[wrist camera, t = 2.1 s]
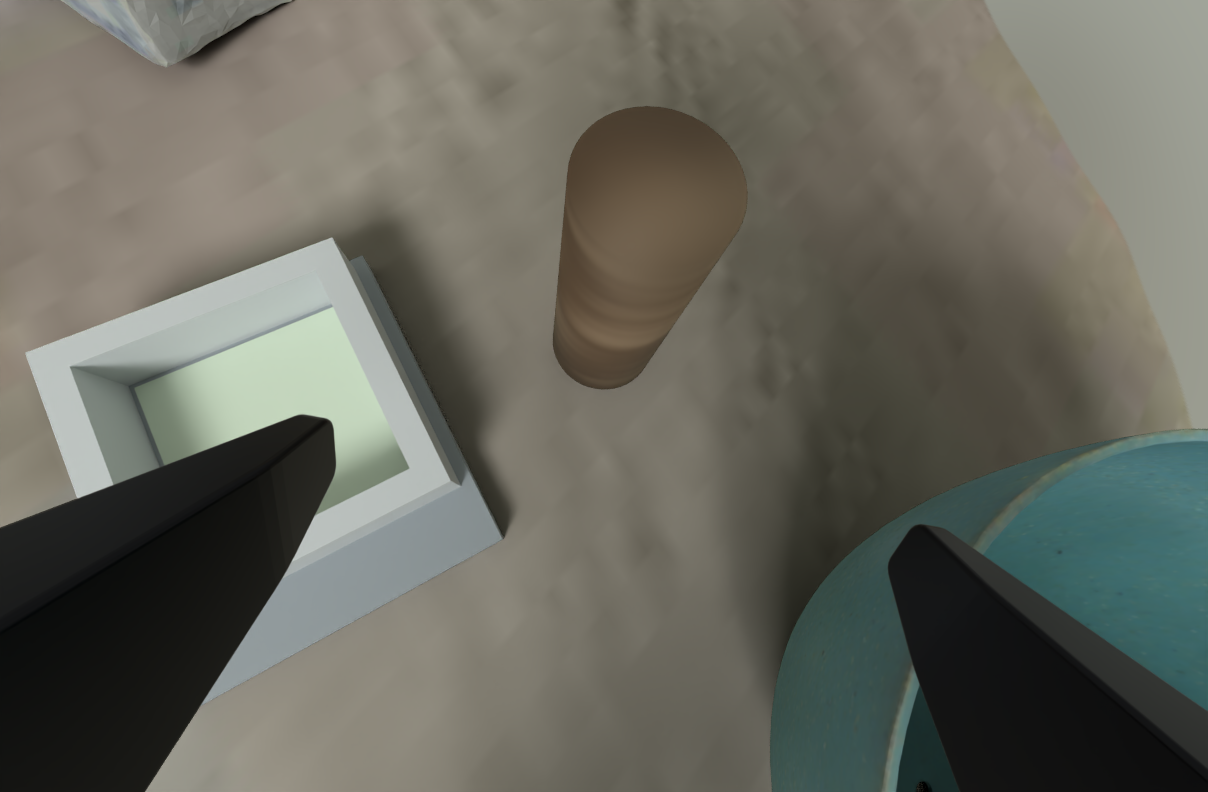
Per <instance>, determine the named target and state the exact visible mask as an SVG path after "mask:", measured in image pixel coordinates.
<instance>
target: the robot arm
mask: <svg viewBox="0 0 1208 792" xmlns="http://www.w3.org/2000/svg"><path fill="white" fill-rule="evenodd" d="M335 470H336V452H335V439H334V428H333V424H332V422H331V421H330V420H329V419H327V418H323V417H317V416H312V415H306V414H299V415H296V416H293V417H290V418H288V419H285V420H283V421H280V422H277V423H275V424H272V425H269V426H267V427H264V428H262V429H259V430H256V431H254V432H251V433H248V434H246V435H243V436H240V437H238V438H235V439H233V440H230V441H227V442H225V443H222V444H219V445H217V446H214V447H212V448H209V449H206V450H204V451H201V452H198V453H196V454H193V455H191V456H188V457H185V458H183V459H180V460H177V461H175V462H172V463H169V464H167V465H164V466H162V467H159V468H156V469H154V470H151V471H148V472H146V473H143V474H140V475H138V476H135V477H133V478H130V479H127V480H125V481H122V482H119V483H117V484H114V485H111V486H109V487H106V488H104V489H101V490H98V491H96V492H93V493H90V494H88V495H85V496H82V497H80V498H77V499H75V500H72V501H69V502H67V503H64V504H61V505H59V506H56V507H53V508H51V509H48V510H46V511H43V512H40V513H38V514H35V515H32V516H30V517H27V518H24V519H22V520H19V521H17V522H14V523H11V524H9V525H6V526H3V527H1V528H0V792H145V791H146V789H147V788H148V786H149V785H150V783H151V782H152V780H153V779H154V777H155V776H156V774H157V772H158V771H159V769H160V768H161V766H162V765H163V763H164V762H165V760H166V758H167V757H168V755H169V754H170V752H171V751H172V749H173V748H174V746H175V745H176V743H177V741H178V740H179V738H180V737H181V735H182V734H183V732H184V731H185V729H186V727H187V726H188V724H189V723H190V721H191V720H192V718H193V717H194V715H195V714H196V712H197V710H198V709H199V707H200V706H201V704H202V703H203V701H204V700H205V698H206V696H207V695H208V693H209V692H210V690H211V689H212V687H213V686H214V684H215V683H216V681H217V679H218V678H219V676H220V675H221V673H222V672H223V670H224V669H225V667H226V665H227V664H228V662H229V661H230V659H231V658H232V656H233V655H234V653H235V652H236V650H237V648H238V647H239V645H240V644H241V642H242V641H243V639H244V638H245V636H246V634H247V633H248V631H249V630H250V628H251V627H252V625H253V624H254V622H255V621H256V619H257V617H258V616H259V614H260V613H261V611H262V610H263V608H264V607H265V605H266V603H267V602H268V600H269V599H270V597H271V596H272V594H273V593H274V591H275V590H276V588H277V586H278V585H279V583H280V581H281V580H282V578H283V576H284V575H285V573H286V572H287V570H288V568H289V566H290V564H291V562H292V560H293V558H294V557H295V555H296V553H297V551H298V549H299V547H300V545H301V543H302V541H303V539H304V536H305V534H306V532H307V530H308V528H309V526H310V524H311V522H312V520H313V518H314V516H315V514H316V512H317V510H318V508H319V506H320V504H321V502H322V500H323V498H324V496H325V494H326V492H327V490H328V488H329V486H330V484H331V482H332V480H333V478H334V475H335ZM888 576H889V580H890V583H891V587H892V591H893V595H894V598H895V602H896V606H897V609H898V613H899V617H900V621H901V624H902V628H903V632H904V635H905V639H906V643H907V647H908V650H909V654H910V657H911V661H912V664H913V667H914V670H915V673H916V676H917V679H918V682H919V685H920V687H921V690H922V693H923V695H924V698H925V701H926V703H927V706H928V709H929V712H930V714H931V717H932V720H933V722H934V725H935V728H936V730H937V733H938V736H939V738H940V741H941V744H942V747H943V749H944V752H945V755H946V757H947V760H948V763H949V765H950V768H951V771H952V773H953V776H954V779H955V781H956V784H957V787H958V790H959V792H1208V711H1207V710H1205V709H1204V708H1203V707H1201V706H1200V705H1198V704H1197V703H1195V702H1194V701H1192V700H1191V699H1190V698H1188V697H1187V696H1185V695H1184V694H1182V693H1181V692H1179V691H1178V690H1177V689H1175V688H1174V687H1172V686H1171V685H1169V684H1168V683H1167V682H1165V681H1164V680H1162V679H1161V678H1159V677H1158V676H1156V675H1155V674H1154V673H1152V672H1151V671H1149V670H1148V669H1146V668H1145V667H1144V666H1142V665H1141V664H1139V663H1138V662H1136V661H1135V660H1133V659H1132V658H1131V657H1129V656H1128V655H1126V654H1125V653H1123V652H1122V651H1121V650H1119V649H1118V648H1116V647H1115V646H1113V645H1112V644H1110V643H1109V642H1108V641H1106V640H1105V639H1103V638H1102V637H1100V636H1099V635H1097V634H1096V633H1095V632H1093V631H1092V630H1090V629H1089V628H1087V627H1086V626H1085V625H1083V624H1082V623H1080V622H1079V621H1077V620H1076V619H1074V618H1073V617H1072V616H1070V615H1069V614H1067V613H1066V612H1064V611H1063V610H1062V609H1060V608H1059V607H1057V606H1056V605H1054V604H1053V603H1051V602H1050V601H1049V600H1047V599H1046V598H1044V597H1043V596H1041V595H1040V594H1039V593H1037V592H1036V591H1034V590H1033V589H1031V588H1030V587H1028V586H1027V585H1026V584H1024V583H1023V582H1021V581H1020V580H1018V579H1017V578H1015V577H1014V576H1013V575H1011V574H1010V573H1008V572H1007V571H1005V570H1004V569H1003V568H1001V567H1000V566H998V565H997V564H995V563H994V562H992V561H991V560H990V559H988V558H987V557H985V556H984V555H982V554H981V553H980V552H978V551H977V550H975V549H974V548H972V547H971V546H969V545H968V544H967V543H965V542H964V541H962V540H961V539H959V538H958V537H956V536H955V535H954V534H952V533H951V532H949V531H948V530H946V529H944V528H941V527H936V526H930V525H925V524H917V525H915V526H913V527H911V528H910V529H909V531H908V532H907V534H906V535H905V537H904V538H903V539H902V541H901V542H900V544H899V545H898V547H897V548H896V550H895V551H894V552H893V554H892V555H891V557H890V559H889V562H888Z"/></svg>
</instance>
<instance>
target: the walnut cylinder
mask: <svg viewBox="0 0 1208 792" xmlns="http://www.w3.org/2000/svg"><path fill="white" fill-rule="evenodd" d="M747 193H748V192H747V184H746V179H745V176H744V172H743V170H742V167H741V165H740V162H739V161H738V159H737V157H736V155H735V154H734V152H733V151H732V149H731V148H730V147H729V145H728V144H727V143H726V142H725V141H724V140H723V139H722V137H721V136H720V135H718V134H717V133H716V132H715V131H714V130H713V129H711V128H710V127H709V126H707V125H706V124H704V123H703V122H701V121H699V120H697V119H695V118H694V117H692V116H689V115H687V114H684V113H682V112H679V111H675V110H672V109H667V108H661V107H650V106H644V107H633V108H627V109H623V110H619V111H616V112H613V113H611V114H609V115H607V116H605V117H603V118H601V119H600V120H598V121H597V122H595V123H594V124H593V125H592V126H590V127H589V128H588V129H587V130H586V131H585V132H584V134H583V135H582V136H581V137H580V139H579V140H578V142H577V143H576V145H575V147H574V149H573V151H572V154H571V157H570V161H569V165H568V173H567V184H566V196H565V207H564V218H563V230H562V241H561V252H560V264H559V275H558V286H557V298H556V309H555V320H554V332H553V347H554V352H555V355H556V358H557V360H558V362H559V364H560V366H561V367H562V369H563V370H564V371H565V372H566V373H567V374H568V375H569V376H570V377H571V378H572V379H574V380H575V381H577V382H579V383H580V384H582V385H585V386H587V387H591V388H595V389H613V388H617V387H621V386H623V385H626V384H627V383H629V382H631V381H632V380H634V379H635V378H636V377H637V376H638V375H639V374H640V373H641V372H642V370H643V369H644V368H645V366H646V365H647V363H648V362H649V360H650V359H651V357H652V356H653V355H654V353H655V352H656V350H657V349H658V347H659V346H660V344H661V343H662V341H663V340H664V339H665V337H666V336H667V334H668V333H669V331H670V330H671V328H672V327H673V325H674V324H675V322H676V321H677V320H678V318H679V317H680V315H681V314H682V312H683V311H684V309H685V308H686V306H687V305H688V303H689V302H690V301H691V299H692V298H693V296H694V295H695V293H696V292H697V290H698V289H699V287H700V286H701V284H702V283H703V282H704V280H705V279H706V277H707V276H708V274H709V273H710V271H711V270H712V268H713V267H714V266H715V264H716V263H717V261H718V260H719V258H720V257H721V255H722V254H723V252H724V251H725V249H726V248H727V247H728V245H729V244H730V242H731V241H732V239H733V238H734V236H735V235H736V233H737V232H738V230H739V228H740V226H741V224H742V222H743V219H744V216H745V213H746V208H747Z"/></svg>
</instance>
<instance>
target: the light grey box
mask: <svg viewBox="0 0 1208 792" xmlns="http://www.w3.org/2000/svg"><path fill="white" fill-rule="evenodd" d="M61 1H63V2H64V3H65V4H67V5H68V6H70V7H71V8H73V9H74V10H75V11H77V12H78V13H79V14H80V15H81V16H83V17H84V18H86V19H87V20H89V21H90V22H91V23H93V24H95V25H96V26H98V27H99V28H101V29H102V30H104V31H106V32H108V33H109V34H112V35H113V36H115V37H116V38H117V39H119V40H120V41H122V42H123V43H125V44H126V45H128V46H129V47H131V48H132V49H133V50H135V51H136V52H137V53H139V54H140V55H142V56H143V57H145V58H146V59H148V60H150V61H151V62H153V63H155V64H157V65H161V66H164V67H169V66H170V65H172V64H176V63H177V62H179V61H181V60H183V59H185V58H187V57H189V56H191V55H193V54H194V53H196V52H198V51H199V50H200V49H201V48H202V47H204V46H205V45H206V44H208V43H209V42H211V41H213V40H214V39H216V38H218V37H220V36H222V35H224V34H226V33H227V32H229V31H230V30H232V29H234V28H236V27H237V26H239V25H241V24H242V23H244V22H245V21H247V20H248V19H250V18H252V17H253V16H256V15H262V14H264V13H266V12H268V11H269V10H271V9H273V8H274V7H276V6H278V5H279V4H282V3H285V2H291V1H292V0H61Z"/></svg>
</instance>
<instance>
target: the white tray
mask: <svg viewBox="0 0 1208 792" xmlns="http://www.w3.org/2000/svg"><path fill="white" fill-rule="evenodd" d="M25 354H26V356H27V359H28V362H29V365H30V368H31V370H32V373H33V376H34V379H35V382H36V384H37V387H38V390H39V393H40V395H41V398H42V401H43V404H44V407H45V409H46V412H47V415H48V418H49V421H50V423H51V426H52V429H53V432H54V435H55V437H56V440H57V443H58V446H59V448H60V451H61V454H62V457H63V460H64V462H65V465H66V468H67V471H68V474H69V476H70V479H71V482H72V485H73V488H74V490H75V493H76V496H77V498H80V497H82V496H85V495H88V494H90V493H93V492H96V491H98V490H101V489H104V488H106V487H109V486H111V485H114V484H117V483H119V482H122V481H125V480H127V479H130V478H133V477H135V476H138V475H140V474H143V473H146V472H148V471H151V470H154V469H156V468H159V467H162V466H164V465H167V464H169V463H172V462H175V461H177V460H180V459H183V458H185V457H188V456H191V455H193V454H196V453H198V452H201V451H204V450H206V449H209V448H212V447H214V446H217V445H219V444H222V443H225V442H227V441H230V440H233V439H235V438H238V437H240V436H243V435H246V434H248V433H251V432H254V431H256V430H259V429H262V428H264V427H267V426H269V425H272V424H275V423H277V422H280V421H283V420H285V419H288V418H290V417H293V416H296V415H299V414H306V415H312V416H317V417H323V418H327V419H329V420H330V421H331V422H332V424H333V428H334V439H335V452H336V470H335V475H334V478H333V480H332V482H331V484H330V486H329V488H328V490H327V492H326V494H325V496H324V498H323V500H322V502H321V504H320V506H319V508H318V510H317V512H316V514H315V516H314V518H313V520H312V522H311V524H310V526H309V528H308V530H307V532H306V534H305V536H304V539H303V541H302V543H301V545H300V547H299V549H298V551H297V553H296V555H295V557H294V558H293V560H292V562H291V564H290V566H289V568H288V570H287V572H286V573H285V575H284V576H283V578H282V580H281V581H280V583H279V585H278V586H277V588H276V590H275V591H274V593H273V594H272V596H271V597H270V599H269V600H268V602H267V603H266V605H265V607H264V608H263V610H262V611H261V613H260V614H259V616H258V617H257V619H256V621H255V622H254V624H253V625H252V627H251V628H250V630H249V631H248V633H247V634H246V636H245V638H244V639H243V641H242V642H241V644H240V645H239V647H238V648H237V650H236V652H235V653H234V655H233V656H232V658H231V659H230V661H229V662H228V664H227V665H226V667H225V669H224V670H223V672H222V673H221V675H220V676H219V678H218V679H217V681H216V683H215V684H214V686H213V687H212V689H211V690H210V692H209V693H208V695H207V696H206V698H205V700H204V701H203V703H202V704H201V705H203V704H205V703H207V702H208V701H210V700H212V699H214V698H216V697H218V696H219V695H221V694H223V693H225V692H227V691H228V690H230V689H232V688H234V687H236V686H238V685H239V684H241V683H243V682H245V681H247V680H248V679H250V678H252V677H254V676H256V675H257V674H259V673H261V672H263V671H265V670H267V669H268V668H270V667H272V666H274V665H276V664H277V663H279V662H281V661H283V660H285V659H286V658H288V657H290V656H292V655H294V654H296V653H297V652H299V651H301V650H303V649H305V648H306V647H308V646H310V645H312V644H314V643H315V642H317V641H319V640H321V639H323V638H325V637H326V636H328V635H330V634H332V633H334V632H335V631H337V630H339V629H341V628H343V627H345V626H346V625H348V624H350V623H352V622H354V621H355V620H357V619H359V618H361V617H363V616H364V615H366V614H368V613H370V612H372V611H374V610H375V609H377V608H379V607H381V606H383V605H384V604H386V603H388V602H390V601H392V600H393V599H395V598H397V597H399V596H401V595H403V594H404V593H406V592H408V591H410V590H412V589H413V588H415V587H417V586H419V585H421V584H422V583H424V582H426V581H428V580H430V579H432V578H433V577H435V576H437V575H439V574H441V573H442V572H444V571H446V570H448V569H450V568H452V567H453V566H455V565H457V564H459V563H461V562H462V561H464V560H466V559H468V558H470V557H471V556H473V555H475V554H477V553H479V552H481V551H482V550H484V549H486V548H488V547H490V546H491V545H493V544H495V543H497V542H499V541H500V540H502V539H504V537H503V535H502V533H501V531H500V529H499V527H498V525H497V523H496V521H495V519H494V517H493V515H492V513H491V511H490V509H489V507H488V505H487V503H486V501H485V499H484V497H483V495H482V493H481V491H480V489H479V487H478V485H477V483H476V481H475V479H474V477H473V474H472V472H471V470H470V468H469V466H468V464H467V462H466V460H465V458H464V456H463V454H462V452H461V450H460V448H459V446H458V444H457V442H456V440H455V438H454V436H453V434H452V432H451V430H450V428H449V426H448V424H447V422H446V420H445V418H444V416H443V414H442V412H441V410H440V408H439V406H438V404H437V402H436V400H435V398H434V396H433V394H432V392H431V390H430V388H429V386H428V384H427V381H426V379H425V377H424V375H423V373H422V371H421V369H420V367H419V365H418V363H417V361H416V359H415V357H414V355H413V353H412V351H411V349H410V347H409V345H408V343H407V341H406V339H405V337H404V335H403V333H402V331H401V329H400V327H399V325H398V323H397V321H396V319H395V317H394V315H393V313H392V311H391V309H390V307H389V305H388V303H387V301H386V299H385V297H384V295H383V293H382V290H381V288H380V286H379V284H378V282H377V280H376V278H375V276H374V274H373V272H372V270H371V268H370V266H369V265H368V263H367V262H366V260H365V259H364V257H363V256H359V257H357V258H354V259H352V260H348V259H347V257H346V256H345V255H344V253H343V252H342V250H341V249H340V247H339V246H338V245H337V243H336V242H335V240H334V239H333V238H329V239H326V240H324V241H321V242H318V243H316V244H313V245H310V246H308V247H305V248H302V249H300V250H297V251H294V252H292V253H289V254H287V255H284V256H281V257H279V258H276V259H273V260H271V261H268V262H265V263H263V264H260V265H257V266H255V267H252V268H249V269H247V270H244V271H241V272H239V273H236V274H233V275H231V276H228V277H225V278H223V279H220V280H218V281H215V282H212V283H210V284H207V285H204V286H202V287H199V288H196V289H194V290H191V291H188V292H186V293H183V294H180V295H178V296H175V297H172V298H170V299H167V300H164V301H162V302H159V303H156V304H154V305H151V306H148V307H146V308H143V309H141V310H138V311H135V312H133V313H130V314H127V315H125V316H122V317H119V318H117V319H114V320H111V321H109V322H106V323H103V324H101V325H98V326H95V327H93V328H90V329H87V330H85V331H82V332H79V333H77V334H74V335H71V336H69V337H66V338H64V339H61V340H58V341H56V342H53V343H50V344H48V345H45V346H42V347H40V348H37V349H34V350H32V351H29V352H26V353H25Z"/></svg>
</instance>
